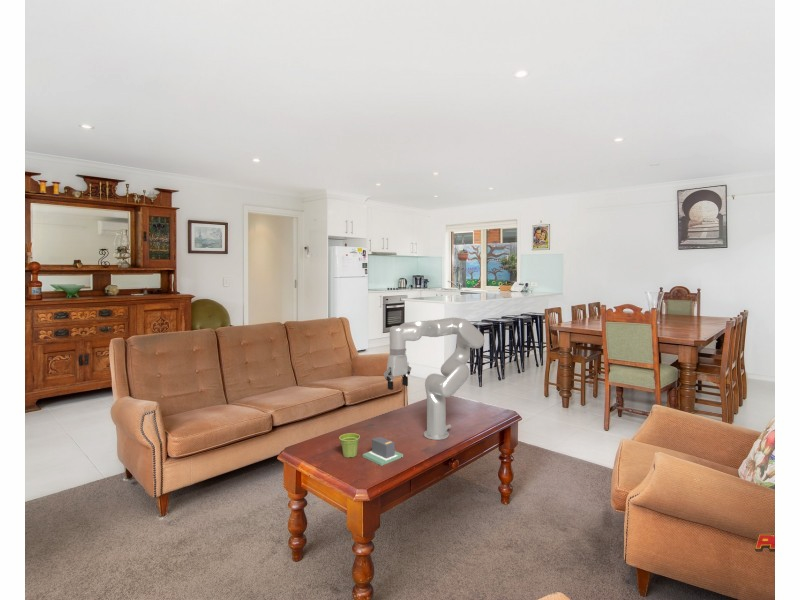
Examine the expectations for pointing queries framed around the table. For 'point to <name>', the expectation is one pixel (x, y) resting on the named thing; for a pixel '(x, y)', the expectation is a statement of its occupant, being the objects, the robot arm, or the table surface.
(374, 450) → the block
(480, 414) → the table surface
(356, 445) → the plant pot
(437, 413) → the robot arm
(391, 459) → the header board
